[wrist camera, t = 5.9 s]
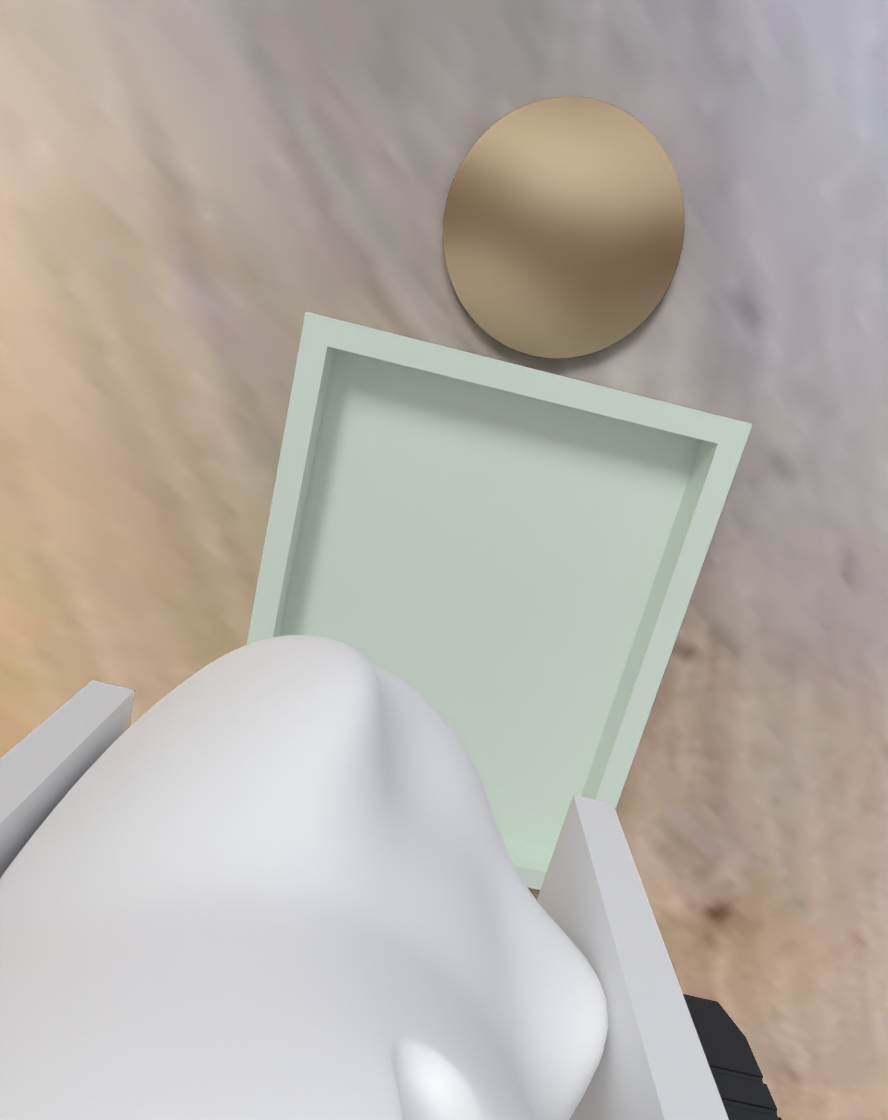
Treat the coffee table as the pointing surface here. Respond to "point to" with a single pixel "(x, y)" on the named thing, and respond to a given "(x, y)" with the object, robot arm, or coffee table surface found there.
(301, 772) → the figurine
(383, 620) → the tray
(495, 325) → the metal coaster
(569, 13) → the coffee table surface
